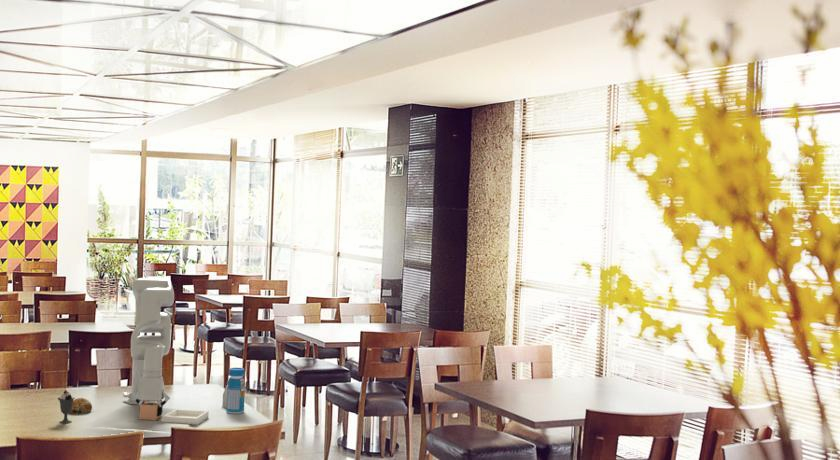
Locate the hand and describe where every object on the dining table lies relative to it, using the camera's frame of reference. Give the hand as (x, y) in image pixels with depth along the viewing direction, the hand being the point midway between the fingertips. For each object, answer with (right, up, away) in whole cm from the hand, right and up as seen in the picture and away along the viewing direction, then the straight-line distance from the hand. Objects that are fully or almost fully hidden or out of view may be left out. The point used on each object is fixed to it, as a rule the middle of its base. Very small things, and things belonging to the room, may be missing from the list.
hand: (150, 414), depth 354 cm
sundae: (-32, -1, -11) cm, 34 cm away
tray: (+15, -3, +1) cm, 15 cm away
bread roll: (-35, -1, +9) cm, 36 cm away
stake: (0, -2, 0) cm, 2 cm away
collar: (0, -1, 0) cm, 1 cm away
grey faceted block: (+27, -4, +31) cm, 41 cm away
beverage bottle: (+32, -4, +21) cm, 38 cm away
